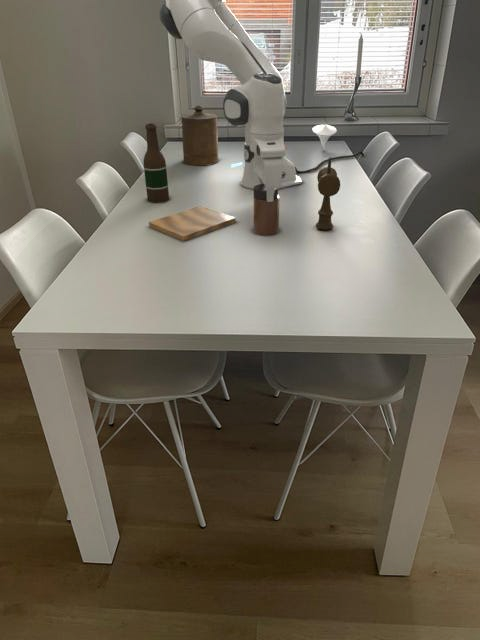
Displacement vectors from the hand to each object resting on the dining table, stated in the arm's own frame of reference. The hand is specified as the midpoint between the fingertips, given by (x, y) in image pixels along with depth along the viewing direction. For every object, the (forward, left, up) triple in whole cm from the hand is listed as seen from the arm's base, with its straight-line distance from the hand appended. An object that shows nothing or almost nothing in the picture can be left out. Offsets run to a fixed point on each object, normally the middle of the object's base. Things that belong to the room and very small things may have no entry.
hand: (266, 195), depth 135 cm
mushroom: (-69, -75, -10) cm, 102 cm away
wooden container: (-13, -84, -10) cm, 86 cm away
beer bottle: (+19, -42, -10) cm, 47 cm away
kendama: (-16, +6, -10) cm, 20 cm away
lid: (0, 0, +2) cm, 2 cm away
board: (+17, -14, -10) cm, 24 cm away
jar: (0, 0, -10) cm, 10 cm away
